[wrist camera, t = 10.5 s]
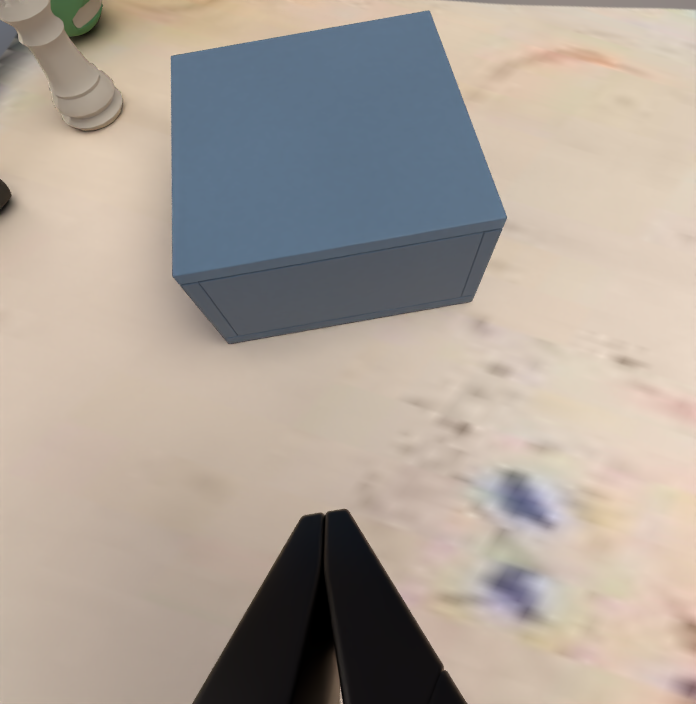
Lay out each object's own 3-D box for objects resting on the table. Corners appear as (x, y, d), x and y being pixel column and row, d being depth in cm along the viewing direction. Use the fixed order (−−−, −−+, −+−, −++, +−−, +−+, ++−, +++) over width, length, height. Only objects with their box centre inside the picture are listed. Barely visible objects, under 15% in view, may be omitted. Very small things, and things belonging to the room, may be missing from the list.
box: (217, 171, 29) (176, 80, 23) (421, 135, 29) (432, 34, 23) (228, 344, 24) (179, 286, 18) (472, 301, 24) (503, 229, 18)
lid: (176, 68, 23) (170, 55, 22) (428, 24, 23) (429, 9, 22) (179, 285, 18) (171, 276, 17) (503, 228, 18) (508, 217, 17)
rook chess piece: (94, 143, 30) (1, 19, 23) (53, 119, 31) (-48, -6, 24) (138, 103, 31) (64, -27, 24) (98, 82, 33) (15, -49, 25)
